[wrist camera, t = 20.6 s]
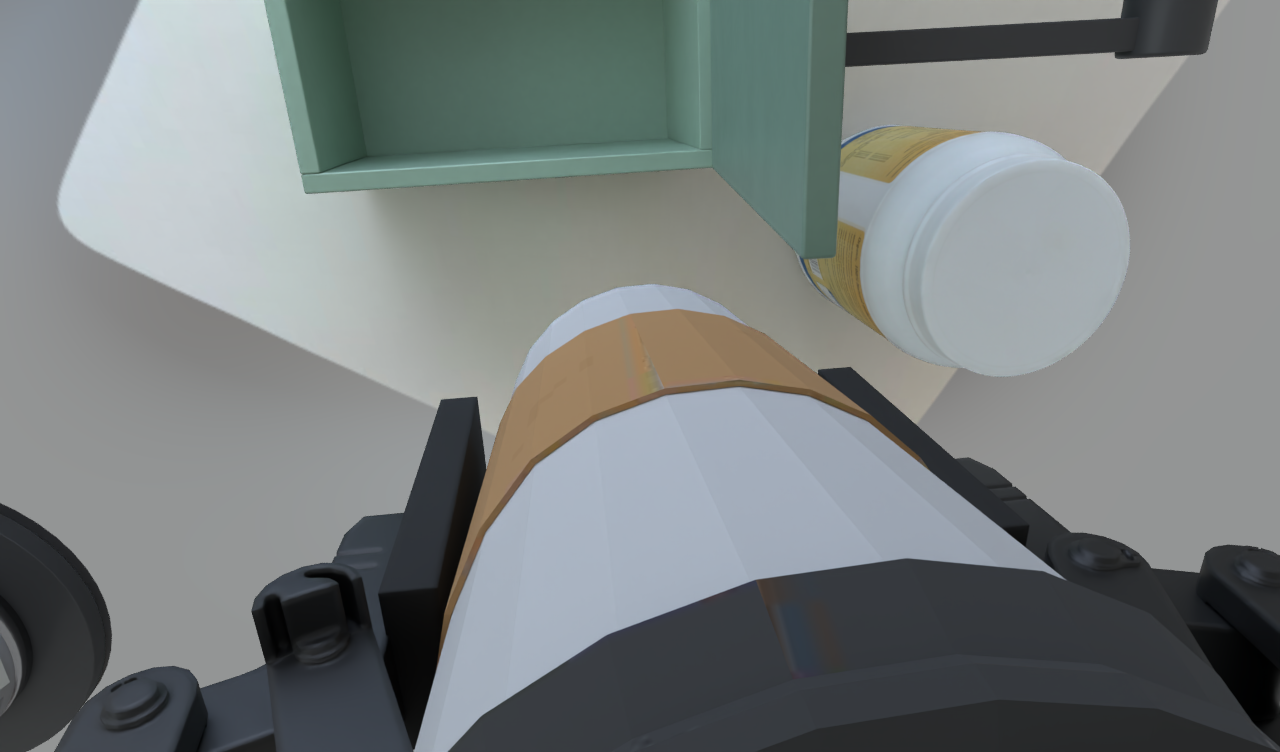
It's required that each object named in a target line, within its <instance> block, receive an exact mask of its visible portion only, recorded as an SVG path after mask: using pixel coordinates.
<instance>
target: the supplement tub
mask: <svg viewBox="0 0 1280 752" xmlns="http://www.w3.org/2000/svg"><path fill="white" fill-rule="evenodd" d="M795 253H796V252H795ZM796 256H797V259H798V262H799V264H800V266H801V269H802V271H803V273H804V274H805V276H806V278H807V279H808V281H809V282H810V283H811V285H812V286H813V287H814V288H815V289H816V290H817V291H818V292H819V293H820V294H821V295H822V296H824V297H825V298H826V299H828V300H829V301H831V302H833V303H835V304H837V305H838V306H839V307H841V308H842V309H844V310H845V311H847V312H848V313H850V314H851V315H853V316H854V317H855V318H857V319H858V320H860V321H861V322H863V323H864V324H866V325H867V326H869V327H870V328H871V329H873V330H874V331H876V332H877V333H879V334H880V335H882V336H883V337H884V338H886V339H887V340H889V341H890V342H891V343H892V344H894V345H895V346H896V347H897V348H899V349H900V350H902V351H903V352H905V353H907V354H909V355H911V356H913V357H915V358H918V359H920V360H923V361H926V362H928V363H932V364H935V365H940V366H945V367H955V368H965V369H967V370H970V371H972V372H974V373H978V374H982V375H987V376H995V377H1011V376H1019V375H1024V374H1028V373H1032V372H1035V371H1038V370H1040V369H1043V368H1046V367H1048V366H1050V365H1052V364H1054V363H1056V362H1058V361H1060V360H1061V359H1063V358H1065V357H1066V356H1067V355H1069V354H1071V353H1072V352H1073V351H1075V350H1076V349H1077V348H1079V347H1080V346H1081V345H1082V344H1083V343H1084V342H1085V341H1086V340H1087V339H1088V338H1089V337H1090V336H1091V335H1092V334H1093V333H1094V332H1095V331H1096V330H1097V329H1098V328H1099V326H1100V325H1101V324H1102V322H1103V321H1104V320H1105V318H1106V317H1107V315H1108V314H1109V312H1110V311H1111V309H1112V307H1113V306H1114V304H1115V302H1116V300H1117V298H1118V296H1119V293H1120V291H1121V288H1122V285H1123V283H1124V280H1125V277H1126V272H1127V269H1128V263H1129V256H1130V233H1129V226H1128V221H1127V218H1126V214H1125V211H1124V208H1123V206H1122V204H1121V202H1120V200H1119V198H1118V196H1117V194H1116V193H1115V192H1114V190H1113V189H1112V188H1111V187H1110V186H1109V184H1108V183H1107V182H1106V181H1105V180H1104V179H1103V178H1102V177H1100V176H1099V175H1098V174H1096V173H1095V172H1093V171H1092V170H1090V169H1088V168H1086V167H1084V166H1082V165H1080V164H1077V163H1073V162H1070V161H1067V160H1066V159H1065V158H1063V157H1062V156H1061V155H1060V154H1059V153H1057V152H1056V151H1054V150H1053V149H1051V148H1050V147H1048V146H1046V145H1044V144H1042V143H1040V142H1038V141H1036V140H1033V139H1030V138H1027V137H1024V136H1020V135H1016V134H1012V133H1004V132H979V131H964V130H950V129H937V128H924V127H912V126H905V125H884V126H878V127H873V128H869V129H866V130H864V131H861V132H859V133H856V134H854V135H852V136H850V137H848V138H846V139H844V140H843V141H841V162H840V183H839V204H838V224H837V245H836V255H835V257H833V258H823V259H802V258H801V257H800V256H799V255H798V254H797V253H796Z"/></svg>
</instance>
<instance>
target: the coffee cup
mask: <svg viewBox="0 0 1280 752" xmlns="http://www.w3.org/2000/svg"><path fill="white" fill-rule="evenodd" d="M414 752H1280V747H1279V746H1278V745H1277V744H1276V743H1275V742H1274V741H1272V740H1271V739H1270V738H1269V737H1268V736H1267V735H1266V734H1264V733H1263V732H1262V731H1261V730H1260V729H1259V728H1258V727H1256V726H1255V725H1254V723H1253V722H1252V721H1251V719H1250V718H1249V716H1248V715H1247V714H1246V712H1245V711H1244V709H1243V708H1242V707H1241V705H1240V704H1239V702H1238V701H1237V700H1236V698H1235V697H1234V695H1233V694H1232V692H1231V691H1230V690H1229V688H1228V687H1227V685H1226V684H1225V683H1224V681H1223V680H1222V678H1221V677H1220V676H1219V675H1218V674H1217V673H1216V672H1215V671H1214V670H1212V669H1211V668H1210V667H1209V666H1208V665H1207V664H1206V663H1205V662H1203V661H1202V660H1201V659H1200V658H1199V657H1198V656H1197V655H1196V654H1195V653H1193V652H1192V651H1191V650H1190V649H1189V648H1188V647H1187V646H1186V645H1184V644H1183V643H1182V642H1181V641H1180V640H1179V639H1178V638H1177V637H1176V636H1174V635H1173V634H1172V633H1171V632H1170V631H1169V630H1168V629H1167V628H1165V627H1164V626H1163V625H1162V624H1161V623H1160V622H1159V621H1158V620H1157V619H1155V618H1154V617H1153V616H1152V615H1151V614H1150V613H1148V612H1145V611H1143V610H1140V609H1138V608H1135V607H1133V606H1130V605H1128V604H1125V603H1123V602H1120V601H1118V600H1115V599H1112V598H1110V597H1107V596H1105V595H1102V594H1100V593H1097V592H1095V591H1092V590H1090V589H1087V588H1085V587H1082V586H1080V585H1077V584H1075V583H1072V582H1069V581H1067V580H1066V579H1064V578H1063V577H1062V576H1061V575H1059V574H1058V573H1057V572H1056V571H1054V570H1053V569H1052V568H1051V567H1049V566H1048V565H1047V564H1046V563H1044V562H1043V561H1042V560H1041V559H1039V558H1038V557H1037V556H1036V555H1034V554H1033V553H1032V552H1031V551H1029V550H1028V549H1027V548H1026V547H1024V546H1023V545H1022V544H1021V543H1019V542H1018V541H1017V540H1015V539H1014V538H1013V537H1012V536H1010V535H1009V534H1008V533H1007V532H1005V531H1004V530H1003V529H1002V528H1000V527H999V526H998V525H997V524H995V523H994V522H993V521H992V520H990V519H989V518H988V517H987V516H985V515H984V514H983V513H982V512H980V511H979V510H978V509H977V508H975V507H974V506H973V505H972V504H970V503H969V502H968V501H967V500H965V499H964V498H963V497H962V496H960V495H959V494H958V493H957V492H955V491H954V490H953V489H952V488H950V487H949V486H948V485H947V484H945V483H944V482H943V481H942V480H940V479H939V478H938V477H937V476H935V475H934V474H933V473H932V472H931V471H930V470H929V469H928V467H927V466H926V465H925V463H924V462H923V460H922V459H921V458H920V457H919V456H918V455H917V454H916V453H914V452H913V451H912V450H911V449H910V448H909V447H907V446H906V445H905V444H904V443H903V442H902V441H900V440H899V439H898V438H897V437H896V436H895V435H893V434H892V433H891V432H890V431H889V430H888V429H886V428H885V427H884V426H883V425H882V424H881V423H879V422H878V421H877V420H876V419H875V418H874V417H872V416H871V415H870V414H869V413H867V412H866V411H865V410H863V409H862V408H861V407H859V406H858V405H857V404H856V403H854V402H853V401H852V400H850V399H849V398H848V397H846V396H845V395H844V394H843V393H841V392H840V391H839V390H837V389H836V388H835V387H833V386H832V385H831V384H830V383H828V382H827V381H826V380H824V379H823V378H822V377H820V376H819V375H818V374H817V373H815V372H814V371H813V370H811V369H810V368H809V367H807V366H806V365H805V364H804V363H802V362H801V361H800V360H798V359H797V358H796V357H794V356H793V355H792V354H791V353H789V352H788V351H787V350H785V349H784V348H783V347H781V346H780V345H779V344H778V343H776V342H775V341H774V340H772V339H771V338H770V337H768V336H767V335H766V334H764V333H762V332H760V331H757V330H755V329H753V328H751V327H749V326H747V325H746V324H745V323H744V322H742V321H741V320H740V319H739V318H737V317H736V316H735V315H734V314H732V313H731V312H730V311H729V310H727V309H726V308H725V307H724V306H722V305H721V304H720V303H717V302H715V301H713V300H711V299H709V298H706V297H704V296H702V295H700V294H698V293H695V292H693V291H691V290H689V289H682V288H676V287H670V286H663V285H657V284H648V285H638V286H628V287H619V288H615V289H612V290H609V291H607V292H604V293H601V294H599V295H596V296H593V297H591V298H588V299H585V300H583V301H581V302H580V303H578V304H577V305H576V306H574V307H573V308H571V309H570V310H568V311H567V312H566V313H564V314H563V315H561V316H560V317H559V318H557V319H556V320H554V321H553V322H552V323H551V324H550V326H549V327H548V328H547V329H546V330H545V332H544V333H543V334H542V335H541V336H540V338H539V339H538V340H537V341H536V342H535V344H534V345H533V346H532V347H531V348H530V350H529V352H528V355H527V357H526V359H525V362H524V364H523V366H522V368H521V371H520V373H519V375H518V377H517V380H516V383H515V387H514V390H513V394H512V398H511V401H510V403H509V405H508V407H507V409H506V411H505V413H504V415H503V418H502V420H501V422H500V425H499V429H498V432H497V435H496V439H495V442H494V446H493V449H492V453H491V456H490V459H489V463H488V466H487V470H486V473H485V476H484V480H483V483H482V487H481V490H480V494H479V497H478V500H477V504H476V507H475V511H474V514H473V517H472V521H471V524H470V528H469V531H468V535H467V538H466V541H465V545H464V548H463V552H462V555H461V558H460V562H459V565H458V569H457V572H456V576H455V579H454V582H453V586H452V589H451V593H450V596H449V599H448V603H447V606H446V610H445V613H444V619H443V626H442V633H441V640H440V647H439V654H438V661H437V668H436V674H435V678H434V681H433V685H432V689H431V692H430V696H429V699H428V703H427V707H426V710H425V714H424V718H423V721H422V725H421V729H420V732H419V736H418V739H417V743H416V747H415V750H414Z"/></svg>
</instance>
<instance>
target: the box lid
mask: <svg viewBox="0 0 1280 752" xmlns="http://www.w3.org/2000/svg"><path fill="white" fill-rule="evenodd" d="M1217 3H1218V0H1124V2H1123V8H1122V14H1121V18H1115V19H1097V20H1079V21H1060V22H1042V23H1024V24H1005V25H987V26H969V27H950V28H932V29H914V30H895V31H877V32H859V33H847V15H848V0H710V33H711V106H712V167H713V169H714V170H715V171H716V172H717V173H718V174H719V175H720V176H721V177H722V178H723V179H724V180H725V181H726V182H727V183H728V184H729V185H730V186H731V187H732V188H733V189H734V190H735V191H736V192H737V193H738V194H739V195H740V196H741V197H742V198H743V199H744V200H745V201H746V202H747V203H748V204H749V205H750V206H751V207H752V208H753V209H754V210H755V211H756V212H757V213H758V214H759V215H760V216H761V217H762V218H763V219H764V220H765V221H766V222H767V223H768V224H769V225H770V226H771V227H772V228H773V229H774V231H775V232H776V233H777V234H778V235H779V236H780V237H781V238H782V239H783V240H784V241H785V242H786V243H787V244H788V245H789V246H790V247H791V248H792V249H793V250H794V251H795V252H796V253H797V254H798V255H799V256H800V257H801V258H802V259H823V258H833V257H835V255H836V245H837V224H838V204H839V183H840V162H841V141H842V120H843V99H844V78H845V67H852V66H871V65H889V64H908V63H926V62H945V61H963V60H982V59H1000V58H1019V57H1037V56H1056V55H1075V54H1093V53H1112V52H1115V58H1117V59H1129V58H1147V57H1165V56H1182V55H1199V54H1203V53H1205V52H1206V51H1207V49H1208V45H1209V41H1210V36H1211V31H1212V27H1213V22H1214V17H1215V12H1216V8H1217Z"/></svg>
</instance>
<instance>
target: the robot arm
mask: <svg viewBox="0 0 1280 752" xmlns="http://www.w3.org/2000/svg"><path fill="white" fill-rule="evenodd" d="M818 375H819V376H820V377H822V378H823V379H824V380H826V381H827V382H828V383H830V384H831V385H832V386H833V387H835V388H836V389H837V390H839V391H840V392H841V393H843V394H844V395H845V396H846V397H848V398H849V399H850V400H852V401H853V402H854V403H856V404H857V405H858V406H859V407H861V408H862V409H863V410H865V411H866V412H867V413H869V414H870V415H871V416H872V417H874V418H875V419H876V420H877V421H878V422H879V423H881V424H882V425H883V426H884V427H885V428H886V429H888V430H889V431H890V432H891V433H892V434H893V435H895V436H896V437H897V438H898V439H899V440H900V441H902V442H903V443H904V444H905V445H906V446H907V447H909V448H910V449H911V450H912V451H913V452H914V453H916V454H917V455H918V456H919V457H920V458H921V459H922V460H923V462H924V463H925V465H926V466H927V467H928V469H929V470H930V471H931V472H932V473H933V474H934V475H935V476H937V477H938V478H939V479H940V480H942V481H943V482H944V483H945V484H947V485H948V486H949V487H950V488H952V489H953V490H954V491H955V492H957V493H958V494H959V495H960V496H962V497H963V498H964V499H965V500H967V501H968V502H969V503H970V504H972V505H973V506H974V507H975V508H977V509H978V510H979V511H980V512H982V513H983V514H984V515H985V516H987V517H988V518H989V519H990V520H992V521H993V522H994V523H995V524H997V525H998V526H999V527H1000V528H1002V529H1003V530H1004V531H1005V532H1007V533H1008V534H1009V535H1010V536H1012V537H1013V538H1014V539H1015V540H1017V541H1018V542H1019V543H1021V544H1022V545H1023V546H1024V547H1026V548H1027V549H1028V550H1029V551H1031V552H1032V553H1033V554H1034V555H1036V556H1037V557H1038V558H1039V559H1041V560H1042V561H1043V562H1044V563H1046V564H1047V565H1048V566H1049V567H1051V568H1052V569H1053V570H1054V571H1056V572H1057V573H1058V574H1059V575H1061V576H1062V577H1063V578H1064V579H1066V580H1067V581H1069V582H1072V583H1075V584H1077V585H1080V586H1082V587H1085V588H1087V589H1090V590H1092V591H1095V592H1097V593H1100V594H1102V595H1105V596H1107V597H1110V598H1112V599H1115V600H1118V601H1120V602H1123V603H1125V604H1128V605H1130V606H1133V607H1135V608H1138V609H1140V610H1143V611H1145V612H1148V613H1150V614H1151V615H1152V616H1153V617H1154V618H1155V619H1157V620H1158V621H1159V622H1160V623H1161V624H1162V625H1163V626H1164V627H1165V628H1167V629H1168V630H1169V631H1170V632H1171V633H1172V634H1173V635H1174V636H1176V637H1177V638H1178V639H1179V640H1180V641H1181V642H1182V643H1183V644H1184V645H1186V646H1187V647H1188V648H1189V649H1190V650H1191V651H1192V652H1193V653H1195V654H1196V655H1197V656H1198V657H1199V658H1200V659H1201V660H1202V661H1203V662H1205V663H1206V664H1207V665H1208V666H1209V667H1210V668H1211V669H1212V670H1214V671H1215V672H1216V673H1217V674H1218V675H1219V676H1220V677H1221V678H1222V680H1223V681H1224V683H1225V684H1226V685H1227V687H1228V688H1229V690H1230V691H1231V692H1232V694H1233V695H1234V697H1235V698H1236V700H1237V701H1238V702H1239V704H1240V705H1241V707H1242V708H1243V709H1244V711H1245V712H1246V714H1247V715H1248V716H1249V718H1250V719H1251V721H1252V722H1253V723H1254V725H1255V726H1256V727H1258V728H1259V729H1260V730H1261V731H1262V732H1263V733H1264V734H1266V735H1267V736H1268V737H1269V738H1270V739H1271V740H1272V741H1274V742H1275V743H1276V744H1277V745H1278V746H1279V747H1280V555H1277V554H1276V553H1274V552H1272V551H1269V550H1265V549H1262V548H1261V549H1258V547H1252V546H1238V545H1223V546H1217V547H1213V548H1211V549H1210V550H1209V551H1207V552H1206V553H1205V556H1204V560H1203V563H1202V567H1201V570H1200V573H1195V572H1185V571H1174V570H1163V569H1153V568H1151V567H1150V565H1149V564H1148V563H1147V562H1146V560H1145V559H1144V558H1143V557H1142V556H1141V555H1140V554H1139V553H1138V552H1136V551H1134V550H1133V549H1131V548H1129V547H1128V546H1126V545H1124V544H1122V543H1120V542H1117V541H1115V540H1112V539H1109V538H1106V537H1103V536H1098V535H1093V534H1087V533H1071V532H1070V531H1068V530H1067V529H1066V528H1065V527H1063V526H1062V525H1061V524H1060V523H1059V522H1058V521H1056V520H1055V519H1054V518H1053V517H1051V516H1050V515H1049V514H1048V513H1047V512H1045V511H1044V510H1043V509H1042V508H1041V507H1039V506H1038V505H1037V504H1035V503H1034V502H1033V501H1032V500H1031V499H1027V498H1026V495H1025V494H1024V493H1022V492H1021V491H1020V490H1019V489H1018V488H1016V487H1012V483H1010V482H1009V481H1008V480H1007V479H1005V478H1004V477H1003V476H1002V475H1001V474H999V473H998V472H997V471H996V470H994V469H993V468H990V467H988V466H986V465H984V464H982V463H980V462H977V461H975V460H973V459H971V458H960V459H954V458H953V457H952V456H951V455H950V454H949V453H947V452H946V451H945V450H944V449H943V448H942V447H941V446H940V445H938V444H937V443H936V442H935V441H934V440H933V439H932V438H930V437H929V436H928V435H927V434H926V433H925V432H924V431H922V430H921V429H920V428H919V427H918V426H917V425H916V424H915V423H913V422H912V421H911V420H910V419H909V418H908V417H907V416H905V415H904V414H903V413H902V412H901V411H900V410H899V409H898V408H896V407H895V406H894V405H893V404H892V403H891V402H890V401H888V400H887V399H886V398H885V397H884V396H883V395H882V394H880V393H879V392H878V391H877V390H876V389H875V388H874V387H873V386H871V385H870V384H869V383H868V382H867V381H866V380H865V379H863V378H862V377H861V376H860V375H859V374H858V373H857V372H856V371H854V370H853V369H852V368H851V367H846V368H833V369H821V370H818ZM485 473H486V463H485V454H484V446H483V439H482V430H481V422H480V414H479V406H478V398H477V397H468V398H456V399H443V400H441V402H440V405H439V408H438V411H437V414H436V417H435V420H434V424H433V427H432V430H431V433H430V436H429V439H428V442H427V445H426V448H425V451H424V454H423V457H422V460H421V463H420V466H419V470H418V472H417V476H416V478H415V482H414V484H413V488H412V491H411V494H410V497H409V500H408V503H407V506H406V509H405V512H404V513H397V514H387V515H377V516H366V517H363V518H362V519H361V520H360V521H359V522H358V523H357V524H356V525H354V526H353V527H352V528H351V529H350V530H349V531H348V532H347V533H346V534H345V535H344V538H343V539H342V542H341V544H340V546H339V548H338V551H337V556H336V557H334V560H333V562H332V563H320V564H315V565H310V566H305V567H301V568H299V569H296V570H294V571H291V572H289V573H287V574H284V575H282V576H280V577H279V578H277V579H276V580H274V581H273V582H271V583H270V584H268V585H267V586H265V588H264V589H263V590H262V591H261V592H260V593H259V594H258V596H257V597H256V598H255V600H254V604H253V607H252V615H253V619H254V622H255V625H256V629H257V633H258V637H259V640H260V644H261V647H262V651H263V655H264V658H265V662H266V664H265V665H263V666H261V667H259V668H257V669H255V670H253V671H250V672H247V673H245V674H242V675H240V676H237V677H234V678H231V679H228V680H225V681H222V682H219V683H216V684H212V685H209V686H207V687H203V688H200V687H199V684H198V681H197V679H196V678H195V676H194V675H193V674H192V673H191V672H190V670H187V669H183V668H179V667H176V666H168V667H156V668H151V669H148V670H144V671H141V672H138V673H134V674H131V675H129V676H127V677H125V678H122V679H121V680H118V681H117V682H115V683H113V684H111V685H109V686H107V687H106V688H104V689H103V690H102V691H100V692H99V693H98V694H96V695H95V696H94V697H92V698H91V699H90V700H88V701H87V702H86V703H85V704H84V706H83V707H82V708H81V709H80V711H79V712H78V713H77V714H76V715H75V717H74V718H73V719H72V721H71V723H70V725H69V726H68V728H67V730H66V732H65V733H64V735H63V737H62V739H61V741H60V743H59V744H58V746H57V748H56V749H55V751H54V752H413V750H414V749H415V747H416V743H417V739H418V736H419V732H420V729H421V725H422V721H423V718H424V714H425V710H426V707H427V703H428V699H429V696H430V692H431V689H432V685H433V681H434V678H435V674H436V668H437V661H438V654H439V647H440V640H441V633H442V626H443V619H444V613H445V610H446V606H447V603H448V599H449V596H450V593H451V589H452V586H453V582H454V579H455V576H456V572H457V569H458V565H459V562H460V558H461V555H462V552H463V548H464V545H465V541H466V538H467V535H468V531H469V528H470V524H471V521H472V517H473V514H474V511H475V507H476V504H477V500H478V497H479V494H480V490H481V487H482V483H483V480H484V476H485ZM32 665H33V651H32V645H31V641H30V637H29V635H28V632H27V629H26V628H25V626H24V624H23V622H22V620H21V619H20V617H19V616H18V614H17V613H16V611H15V610H14V609H13V608H12V606H11V605H10V604H9V603H8V602H7V601H6V600H5V599H4V598H3V597H2V596H1V595H0V717H1V716H2V715H3V713H4V712H5V711H6V710H7V709H8V708H9V707H10V705H11V704H12V703H13V702H14V701H15V700H16V698H17V697H18V696H19V695H20V694H21V692H22V691H23V689H24V688H25V686H26V684H27V682H28V680H29V677H30V674H31V671H32Z"/></svg>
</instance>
